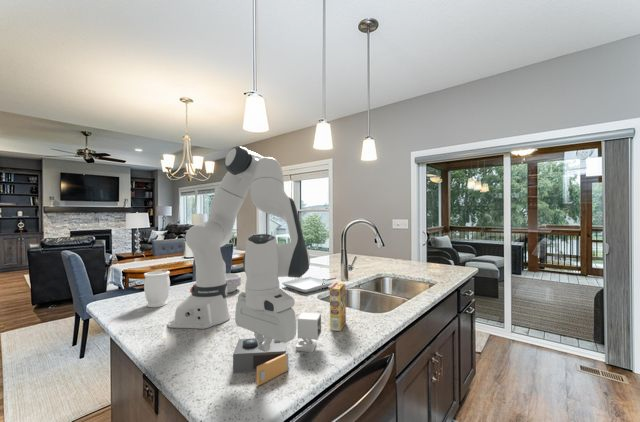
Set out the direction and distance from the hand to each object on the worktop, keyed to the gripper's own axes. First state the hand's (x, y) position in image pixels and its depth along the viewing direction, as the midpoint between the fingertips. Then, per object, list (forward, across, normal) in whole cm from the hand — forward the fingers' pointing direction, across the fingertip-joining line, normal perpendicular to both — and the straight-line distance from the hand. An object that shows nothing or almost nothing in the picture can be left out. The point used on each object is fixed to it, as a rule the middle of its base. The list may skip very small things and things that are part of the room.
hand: (264, 349), depth 76 cm
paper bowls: (+6, -78, +42) cm, 89 cm away
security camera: (+7, -1, +19) cm, 20 cm away
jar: (+6, -84, +9) cm, 85 cm away
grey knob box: (+7, -6, +4) cm, 10 cm away
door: (+7, +3, +1) cm, 7 cm away
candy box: (+7, -3, +38) cm, 39 cm away
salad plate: (+7, -47, +73) cm, 87 cm away
